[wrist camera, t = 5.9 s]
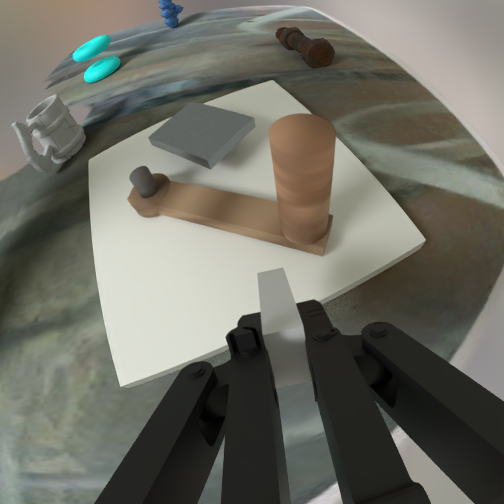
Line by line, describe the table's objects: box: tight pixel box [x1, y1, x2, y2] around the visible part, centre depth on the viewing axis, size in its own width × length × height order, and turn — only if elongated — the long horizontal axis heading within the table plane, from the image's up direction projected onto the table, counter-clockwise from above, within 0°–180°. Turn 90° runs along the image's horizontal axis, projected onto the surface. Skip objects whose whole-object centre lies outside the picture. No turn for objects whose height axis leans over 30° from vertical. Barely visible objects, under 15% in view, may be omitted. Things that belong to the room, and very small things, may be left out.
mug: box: [12, 94, 86, 173], centre depth 34 cm, size 8×12×12 cm, turn 176°
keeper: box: [148, 102, 256, 169], centre depth 30 cm, size 9×7×5 cm
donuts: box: [73, 35, 120, 83], centre depth 51 cm, size 10×10×10 cm
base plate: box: [89, 80, 426, 388], centre depth 29 cm, size 28×30×2 cm
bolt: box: [276, 27, 335, 68], centre depth 42 cm, size 6×5×15 cm
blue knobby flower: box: [159, 0, 183, 28], centre depth 60 cm, size 12×7×12 cm, turn 5°
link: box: [127, 113, 336, 257], centre depth 21 cm, size 19×4×10 cm, turn 69°
